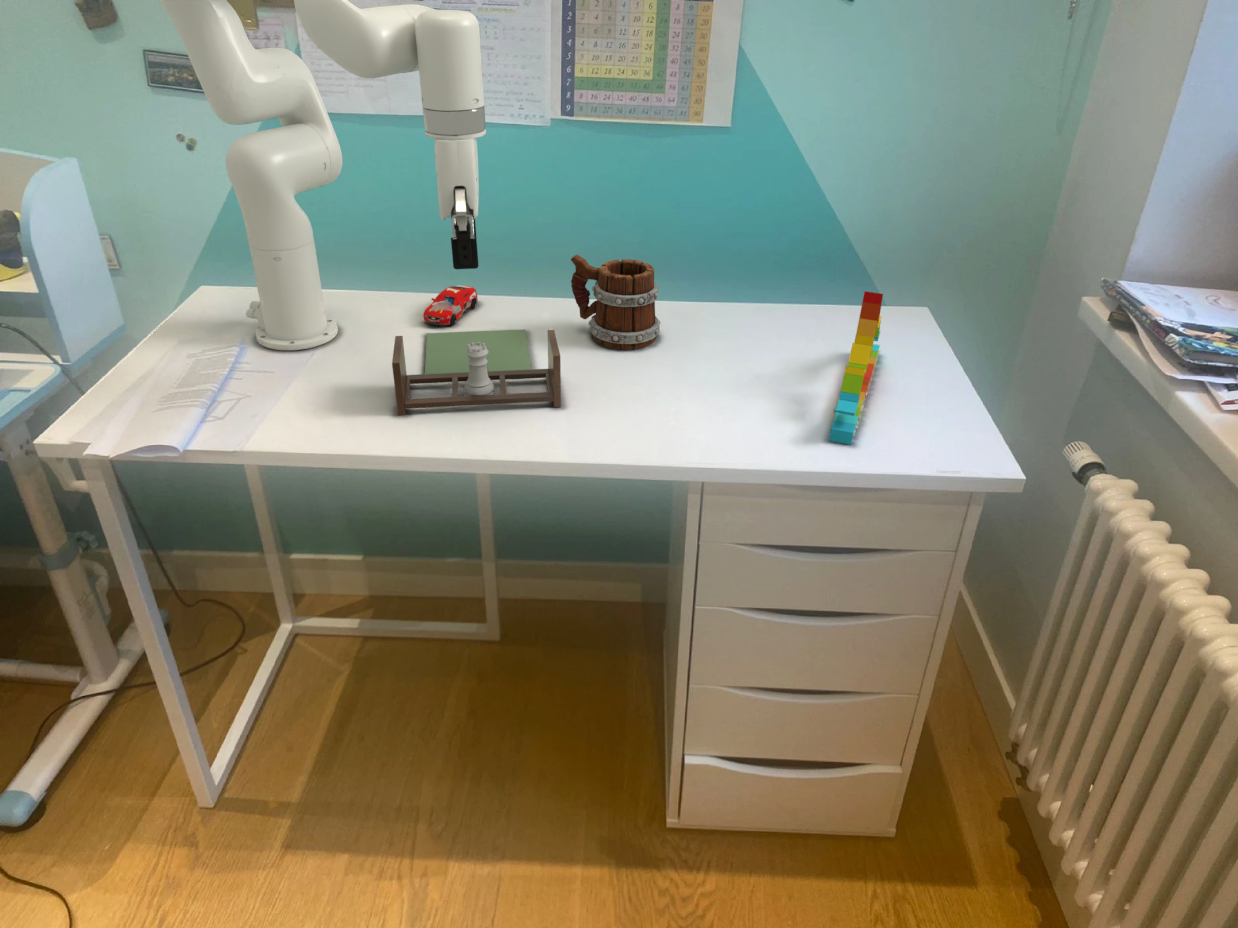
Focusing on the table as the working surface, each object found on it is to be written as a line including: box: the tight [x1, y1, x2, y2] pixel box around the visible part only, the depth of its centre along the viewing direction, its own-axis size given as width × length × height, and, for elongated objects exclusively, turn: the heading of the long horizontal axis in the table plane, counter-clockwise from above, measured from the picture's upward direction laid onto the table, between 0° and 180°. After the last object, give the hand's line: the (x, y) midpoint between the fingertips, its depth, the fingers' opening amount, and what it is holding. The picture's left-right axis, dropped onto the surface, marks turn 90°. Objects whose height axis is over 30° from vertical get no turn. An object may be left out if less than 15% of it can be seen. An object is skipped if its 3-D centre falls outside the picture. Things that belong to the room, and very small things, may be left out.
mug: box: [570, 254, 661, 351], centre depth 148 cm, size 12×14×15 cm
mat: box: [424, 329, 533, 374], centre depth 144 cm, size 16×16×1 cm
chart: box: [828, 291, 884, 446], centre depth 132 cm, size 30×3×15 cm, turn 160°
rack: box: [391, 329, 562, 416], centre depth 130 cm, size 9×23×8 cm, turn 99°
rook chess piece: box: [463, 342, 496, 396], centre depth 130 cm, size 4×4×8 cm
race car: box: [422, 285, 479, 326], centre depth 157 cm, size 13×5×4 cm, turn 161°
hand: (465, 256), depth 123 cm, fingers open, 9 cm apart
